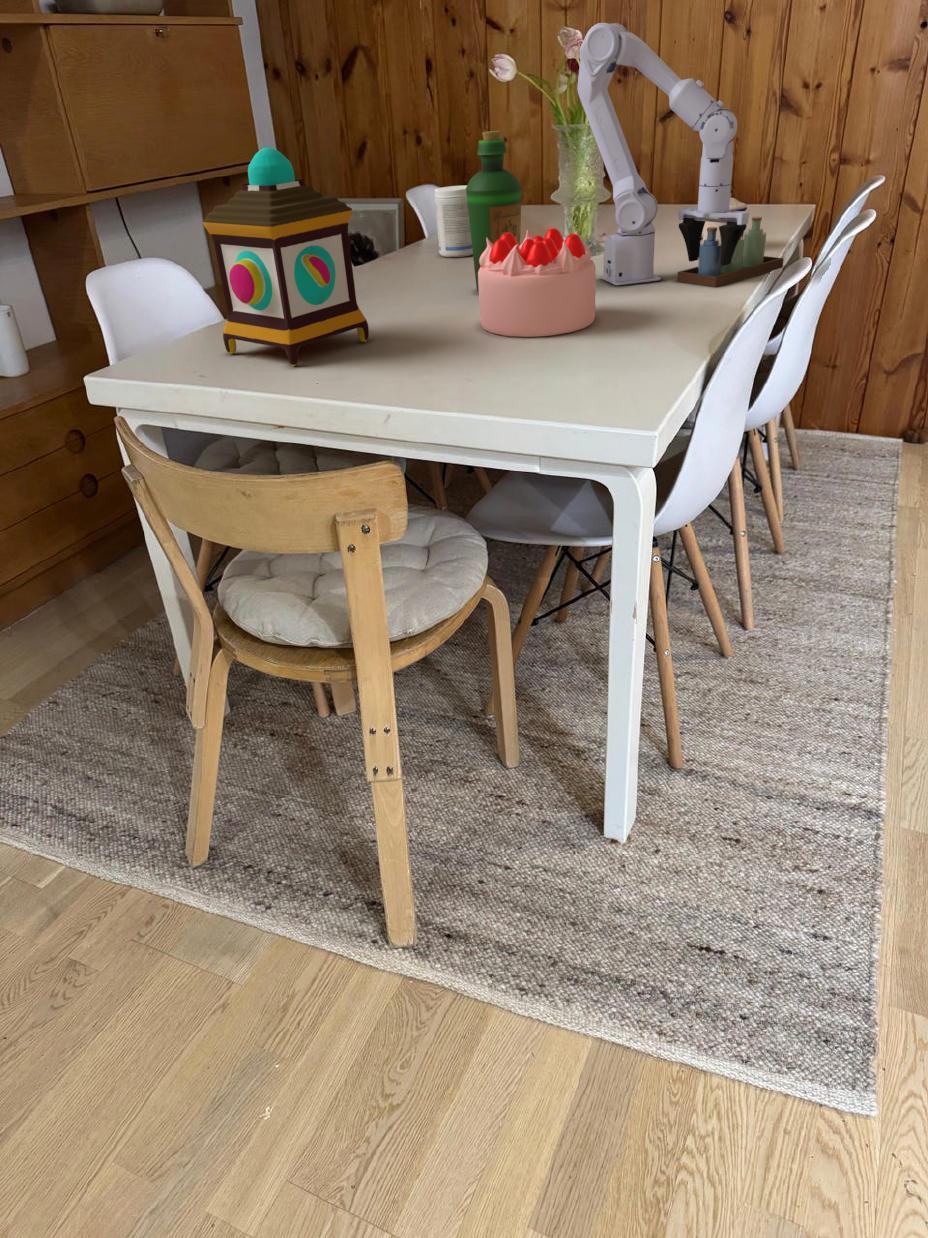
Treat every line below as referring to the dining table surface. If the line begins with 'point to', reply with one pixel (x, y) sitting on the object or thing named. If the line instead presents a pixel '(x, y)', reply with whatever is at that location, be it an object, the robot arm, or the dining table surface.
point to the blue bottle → (710, 254)
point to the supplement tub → (453, 221)
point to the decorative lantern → (284, 261)
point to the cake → (536, 285)
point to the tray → (725, 278)
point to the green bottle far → (754, 244)
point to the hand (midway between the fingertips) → (709, 262)
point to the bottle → (492, 198)
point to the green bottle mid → (735, 258)
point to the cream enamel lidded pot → (732, 206)
